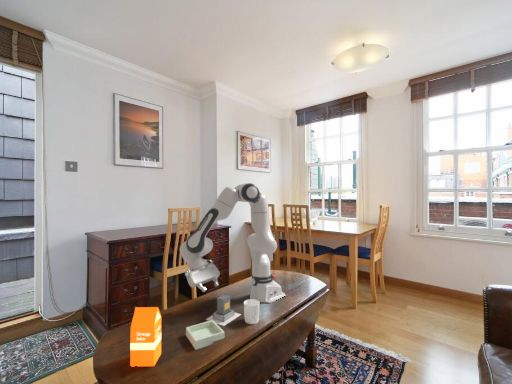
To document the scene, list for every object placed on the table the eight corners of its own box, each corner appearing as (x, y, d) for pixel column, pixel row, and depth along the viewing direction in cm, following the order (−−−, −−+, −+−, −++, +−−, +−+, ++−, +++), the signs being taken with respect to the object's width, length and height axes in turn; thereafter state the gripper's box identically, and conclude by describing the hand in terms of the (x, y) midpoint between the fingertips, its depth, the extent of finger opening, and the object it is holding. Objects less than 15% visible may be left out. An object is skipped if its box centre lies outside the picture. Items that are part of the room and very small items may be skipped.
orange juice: (154, 366, 94) (154, 311, 94) (129, 366, 94) (130, 311, 94) (161, 353, 102) (161, 302, 102) (139, 353, 102) (139, 303, 102)
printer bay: (223, 310, 140) (223, 304, 140) (241, 316, 133) (241, 309, 133) (205, 321, 128) (205, 314, 128) (224, 328, 121) (224, 320, 121)
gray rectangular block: (224, 313, 134) (224, 294, 134) (230, 315, 132) (230, 296, 132) (217, 318, 129) (217, 298, 129) (223, 320, 127) (223, 299, 127)
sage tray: (212, 327, 122) (212, 319, 122) (224, 340, 111) (224, 332, 111) (185, 335, 115) (185, 327, 115) (195, 349, 104) (195, 341, 104)
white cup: (240, 322, 127) (240, 301, 127) (252, 317, 132) (252, 297, 132) (250, 328, 121) (250, 307, 121) (262, 323, 126) (262, 302, 126)
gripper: (186, 268, 131) (200, 291, 125) (213, 259, 148) (226, 279, 143) (180, 275, 133) (193, 298, 128) (208, 266, 150) (220, 286, 145)
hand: (211, 288), depth 135 cm, fingers open, 8 cm apart
